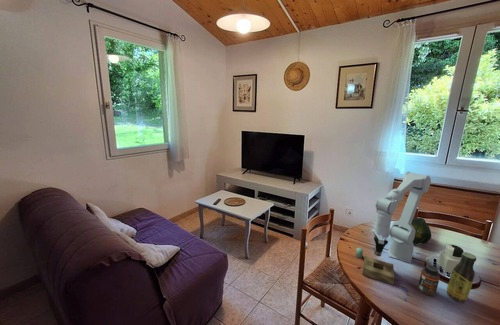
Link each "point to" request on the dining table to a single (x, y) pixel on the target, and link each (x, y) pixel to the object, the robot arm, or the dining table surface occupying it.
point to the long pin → (377, 252)
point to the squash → (421, 231)
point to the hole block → (378, 270)
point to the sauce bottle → (462, 278)
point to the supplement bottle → (429, 280)
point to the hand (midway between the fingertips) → (378, 249)
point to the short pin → (359, 252)
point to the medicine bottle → (450, 257)
